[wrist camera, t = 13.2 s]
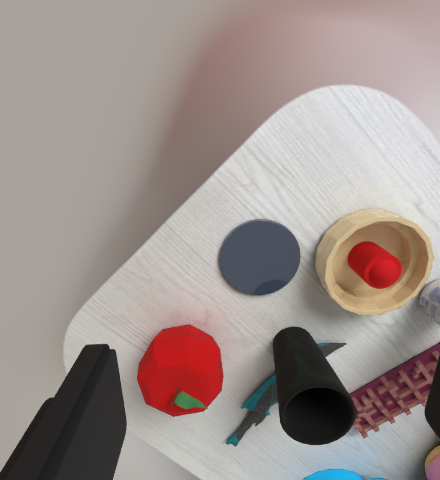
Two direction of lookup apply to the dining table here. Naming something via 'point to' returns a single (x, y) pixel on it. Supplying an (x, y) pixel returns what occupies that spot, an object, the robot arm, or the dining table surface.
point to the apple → (181, 371)
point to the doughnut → (433, 464)
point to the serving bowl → (389, 238)
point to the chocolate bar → (395, 392)
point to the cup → (309, 390)
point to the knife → (268, 398)
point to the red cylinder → (374, 264)
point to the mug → (337, 475)
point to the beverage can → (431, 300)
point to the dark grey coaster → (259, 257)
